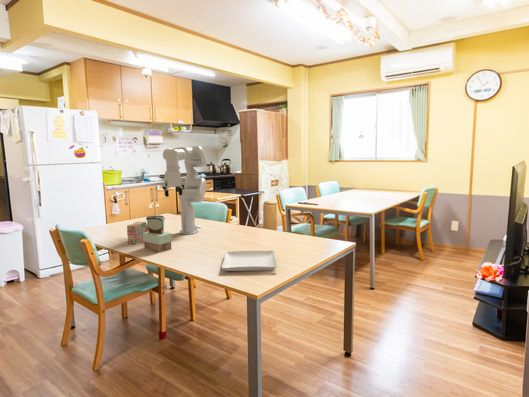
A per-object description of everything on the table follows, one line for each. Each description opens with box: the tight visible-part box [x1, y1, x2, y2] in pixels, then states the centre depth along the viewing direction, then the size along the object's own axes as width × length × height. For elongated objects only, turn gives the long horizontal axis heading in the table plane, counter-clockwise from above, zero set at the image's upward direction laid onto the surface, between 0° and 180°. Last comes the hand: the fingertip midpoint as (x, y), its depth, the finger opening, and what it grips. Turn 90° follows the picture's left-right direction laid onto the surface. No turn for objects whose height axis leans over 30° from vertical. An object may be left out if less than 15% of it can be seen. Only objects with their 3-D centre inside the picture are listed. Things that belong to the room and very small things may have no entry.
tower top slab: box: [143, 231, 173, 245], centre depth 203 cm, size 9×15×5 cm, turn 58°
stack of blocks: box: [126, 221, 149, 245], centre depth 224 cm, size 21×6×12 cm, turn 168°
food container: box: [145, 214, 166, 234], centre depth 204 cm, size 12×6×10 cm, turn 68°
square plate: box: [221, 250, 278, 272], centre depth 175 cm, size 27×27×4 cm
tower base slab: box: [143, 241, 172, 253], centre depth 204 cm, size 9×15×5 cm, turn 50°
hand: (173, 195), depth 215 cm, fingers open, 9 cm apart
